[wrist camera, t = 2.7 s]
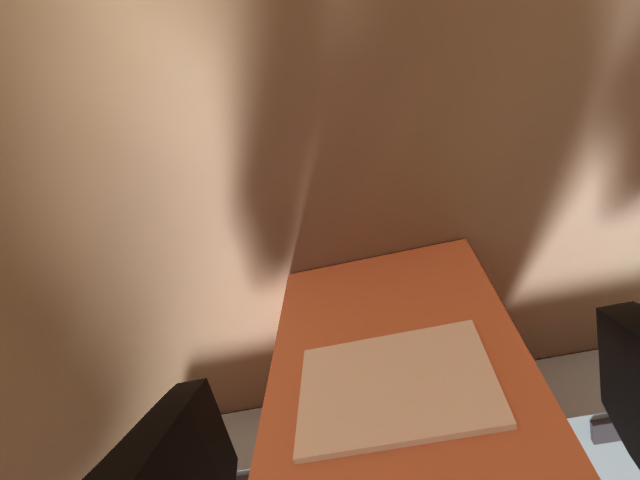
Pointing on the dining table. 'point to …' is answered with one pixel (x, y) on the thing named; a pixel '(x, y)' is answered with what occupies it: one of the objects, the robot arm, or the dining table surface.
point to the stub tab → (408, 379)
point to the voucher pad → (568, 389)
